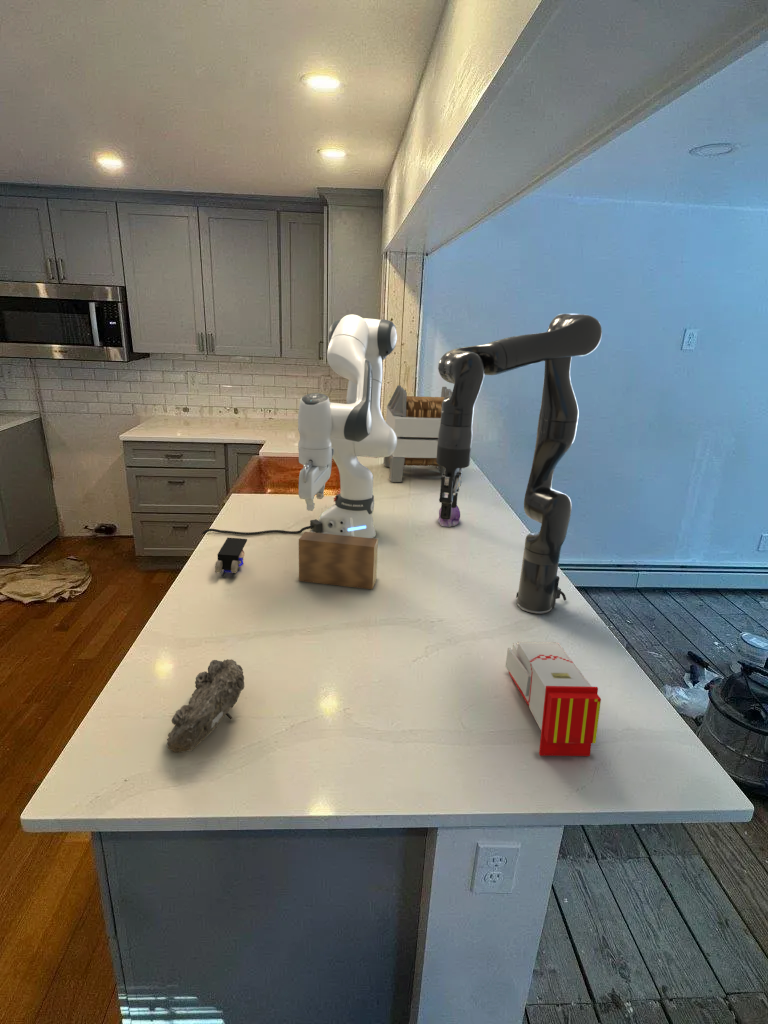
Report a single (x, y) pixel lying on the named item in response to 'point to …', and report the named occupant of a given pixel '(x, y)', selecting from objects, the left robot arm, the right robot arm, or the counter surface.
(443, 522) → the figurine
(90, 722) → the counter surface
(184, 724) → the fossil
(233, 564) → the figurine character
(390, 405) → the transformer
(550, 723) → the toy
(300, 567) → the box
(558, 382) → the right robot arm
